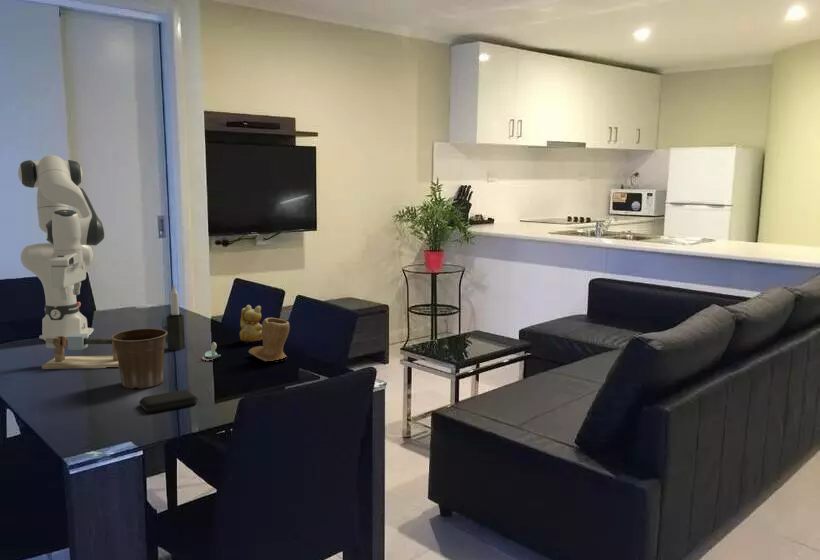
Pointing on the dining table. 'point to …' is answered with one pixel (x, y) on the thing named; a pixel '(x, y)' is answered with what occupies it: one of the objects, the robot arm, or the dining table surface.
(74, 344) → the marker sleeve
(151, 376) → the plant pot
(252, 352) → the brown clay boot vase
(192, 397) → the carrying case or bag
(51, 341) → the cord stand
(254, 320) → the decorative figurine
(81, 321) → the robot arm
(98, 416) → the dining table surface
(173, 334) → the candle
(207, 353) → the pacifier
